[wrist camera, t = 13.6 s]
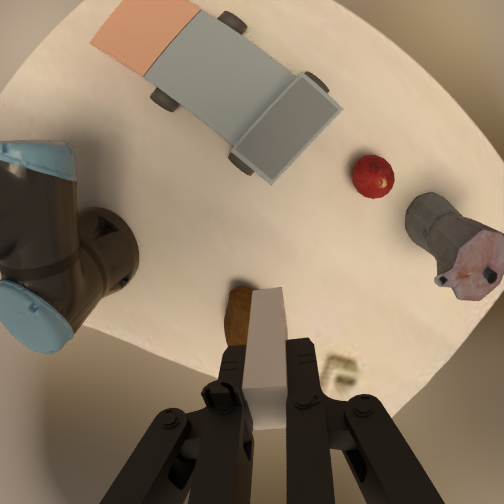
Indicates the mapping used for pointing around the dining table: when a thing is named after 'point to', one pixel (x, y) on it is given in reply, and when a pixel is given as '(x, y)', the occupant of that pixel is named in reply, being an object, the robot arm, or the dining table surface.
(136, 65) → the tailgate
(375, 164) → the red rounded piece
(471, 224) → the moka pot
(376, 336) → the dining table surface
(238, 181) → the dining table surface
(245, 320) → the potato
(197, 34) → the pickup bed
